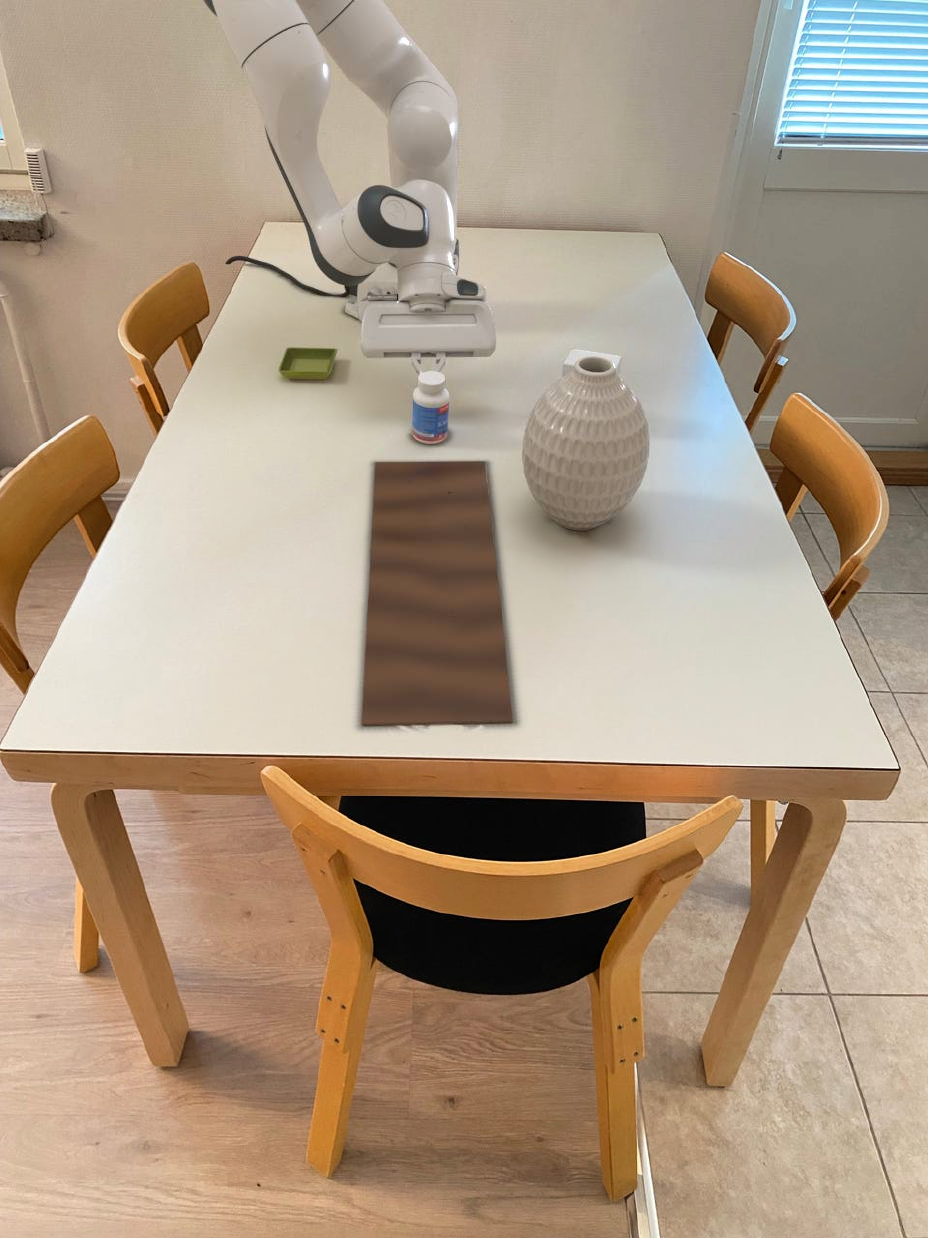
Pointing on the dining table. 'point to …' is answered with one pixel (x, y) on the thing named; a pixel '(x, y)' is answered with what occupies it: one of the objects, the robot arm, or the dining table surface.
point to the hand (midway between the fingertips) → (429, 384)
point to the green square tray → (307, 363)
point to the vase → (586, 446)
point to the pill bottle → (430, 408)
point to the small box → (579, 354)
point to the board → (434, 599)
